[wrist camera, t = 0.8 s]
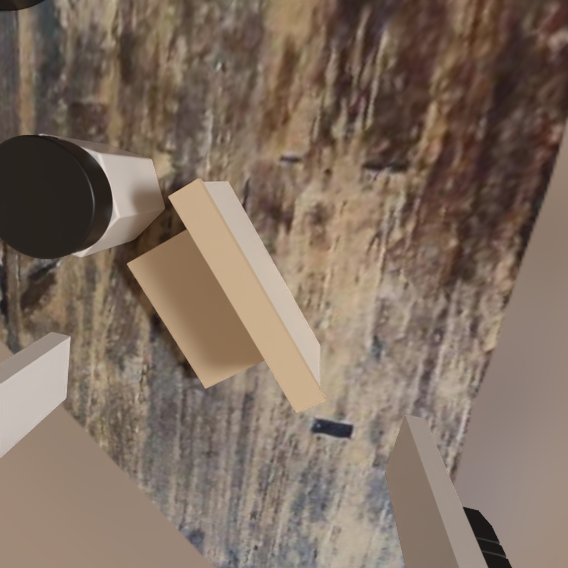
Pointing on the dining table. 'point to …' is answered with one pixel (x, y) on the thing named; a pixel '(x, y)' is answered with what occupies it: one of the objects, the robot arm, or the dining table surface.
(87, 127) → the dining table surface
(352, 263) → the dining table surface
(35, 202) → the jar
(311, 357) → the cleat board
